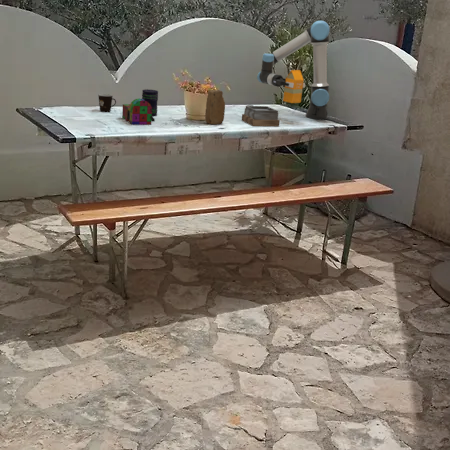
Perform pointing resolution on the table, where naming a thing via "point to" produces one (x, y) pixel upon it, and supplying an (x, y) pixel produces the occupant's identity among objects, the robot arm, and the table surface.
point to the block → (215, 107)
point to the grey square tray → (261, 116)
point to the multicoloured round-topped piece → (138, 112)
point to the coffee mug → (105, 102)
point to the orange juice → (294, 87)
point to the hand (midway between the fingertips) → (298, 85)
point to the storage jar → (151, 99)
